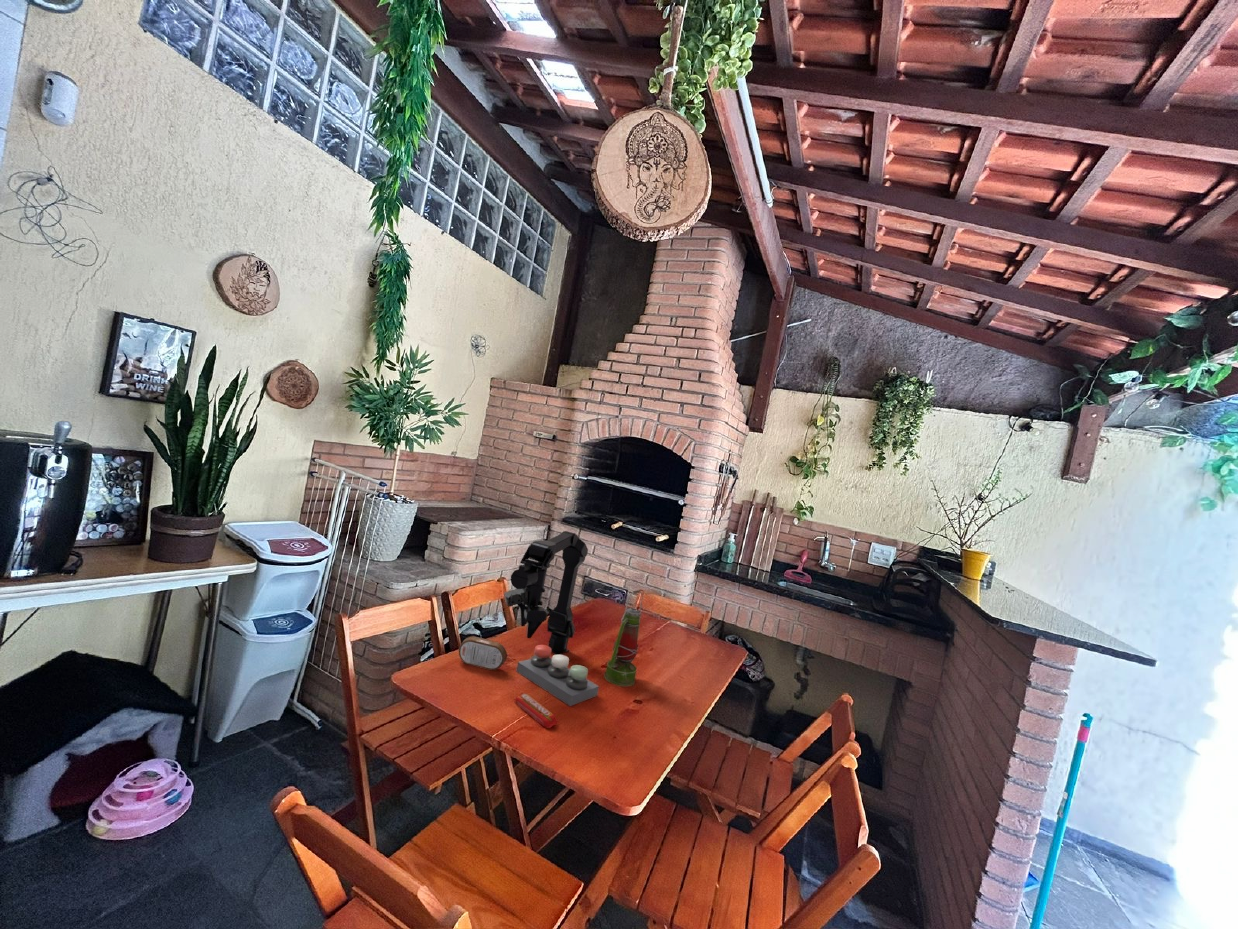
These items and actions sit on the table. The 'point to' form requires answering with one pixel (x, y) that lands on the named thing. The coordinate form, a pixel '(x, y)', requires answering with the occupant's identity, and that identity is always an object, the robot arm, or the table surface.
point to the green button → (578, 672)
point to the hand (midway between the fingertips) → (525, 632)
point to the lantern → (625, 649)
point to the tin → (482, 653)
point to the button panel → (557, 680)
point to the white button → (560, 661)
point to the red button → (542, 651)
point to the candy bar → (536, 710)
